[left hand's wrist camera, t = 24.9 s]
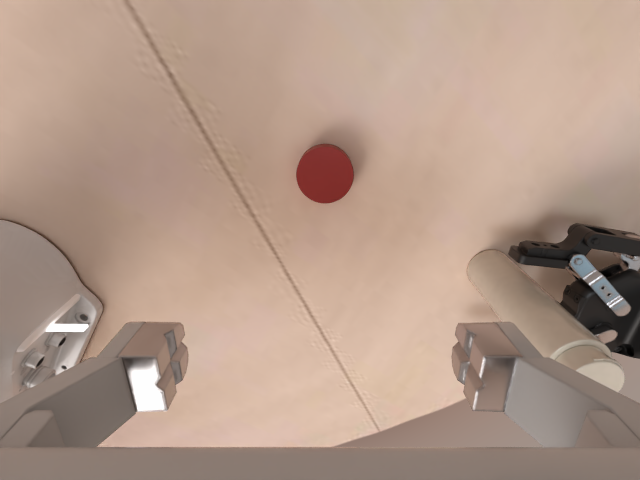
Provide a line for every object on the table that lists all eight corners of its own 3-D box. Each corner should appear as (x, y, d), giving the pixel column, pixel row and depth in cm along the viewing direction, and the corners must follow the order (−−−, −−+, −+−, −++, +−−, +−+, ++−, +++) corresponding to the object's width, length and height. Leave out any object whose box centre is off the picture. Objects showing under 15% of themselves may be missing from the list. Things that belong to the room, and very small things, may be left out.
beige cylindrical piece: (507, 284, 37) (624, 407, 23) (466, 288, 37) (555, 413, 23) (511, 247, 35) (639, 353, 21) (467, 251, 36) (563, 360, 21)
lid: (293, 148, 32) (291, 151, 30) (348, 139, 32) (350, 142, 30) (302, 201, 34) (301, 206, 32) (355, 193, 34) (356, 199, 32)
